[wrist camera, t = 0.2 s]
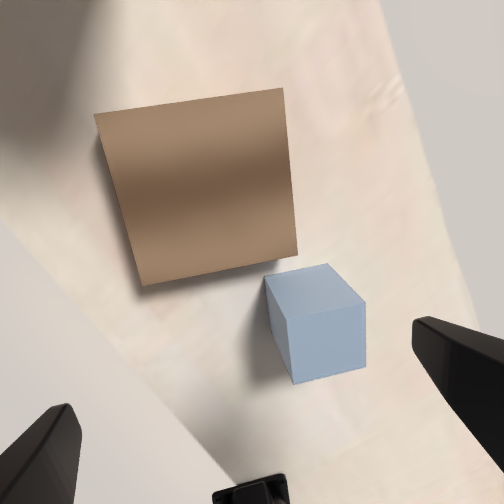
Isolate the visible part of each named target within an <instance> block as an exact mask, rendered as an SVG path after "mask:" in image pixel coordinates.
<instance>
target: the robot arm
mask: <svg viewBox="0 0 504 504" xmlns="http://www.w3.org/2000/svg"><path fill="white" fill-rule="evenodd" d="M412 348H413V351H414V353H415V355H416V356H417V358H418V359H419V361H420V362H421V364H422V365H423V367H424V368H425V370H426V371H427V373H428V375H429V376H430V378H431V379H432V381H433V382H434V384H435V385H436V387H437V388H438V390H439V391H440V393H441V394H442V396H443V397H444V399H445V400H446V402H447V403H448V404H449V405H450V407H451V408H452V409H453V411H454V412H455V413H456V414H457V416H458V417H459V418H460V419H461V420H462V422H463V423H464V424H465V425H466V427H467V428H468V429H469V430H470V432H471V433H472V434H473V435H474V437H475V438H476V439H477V440H478V442H479V443H480V444H481V445H482V447H483V448H484V449H485V450H486V452H487V453H488V454H489V455H490V457H491V458H492V459H493V460H494V462H495V463H496V464H497V465H498V466H499V468H500V469H501V470H502V471H503V473H504V340H503V339H500V338H496V337H493V336H490V335H487V334H484V333H481V332H478V331H474V330H471V329H468V328H465V327H462V326H459V325H456V324H452V323H449V322H446V321H443V320H440V319H437V318H434V317H430V316H426V317H421V318H417V319H415V320H414V321H413V324H412ZM81 441H82V430H81V426H80V424H79V422H78V419H77V417H76V415H75V413H74V411H73V408H72V406H71V405H70V404H68V403H64V404H61V405H56V406H52V407H50V408H49V409H48V410H47V411H46V412H45V413H44V414H43V415H42V416H40V417H39V418H38V419H37V420H36V421H35V422H34V423H33V424H32V425H31V426H30V427H29V428H28V429H27V430H26V431H25V432H24V433H23V434H22V435H21V436H20V437H19V438H18V439H17V440H16V441H15V442H13V444H11V445H10V447H8V448H7V449H6V450H5V451H4V452H3V453H2V454H1V455H0V504H73V502H74V496H75V489H76V480H77V473H78V465H79V457H80V448H81ZM212 502H213V504H290V500H289V493H288V486H287V480H286V476H285V475H284V474H278V475H274V476H271V477H267V478H263V479H260V480H256V481H252V482H249V483H245V484H242V485H238V486H234V487H231V488H227V489H224V490H220V491H216V492H214V493H213V495H212Z"/></svg>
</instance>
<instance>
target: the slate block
mask: <svg viewBox="0 0 504 504" xmlns="http://www.w3.org/2000/svg"><path fill="white" fill-rule="evenodd" d="M264 280H265V287H266V295H267V302H268V310H269V317H270V325H271V332H272V334H273V337H274V339H275V342H276V344H277V346H278V349H279V351H280V354H281V356H282V358H283V361H284V363H285V366H286V368H287V370H288V373H289V375H290V378H291V380H292V382H293V385H295V384H299V383H304V382H308V381H312V380H316V379H320V378H324V377H328V376H332V375H336V374H340V373H344V372H348V371H352V370H356V369H360V368H364V367H366V305H365V301H364V300H363V299H362V298H361V297H360V296H359V295H358V294H357V293H356V292H355V291H354V290H353V289H352V288H351V287H350V286H349V285H348V284H347V283H346V282H345V281H344V280H343V279H342V277H341V276H340V275H339V274H338V273H337V272H336V271H335V270H334V269H333V268H332V267H331V266H330V265H329V264H328V263H326V264H322V265H317V266H312V267H307V268H302V269H297V270H292V271H288V272H283V273H278V274H273V275H268V276H264Z"/></svg>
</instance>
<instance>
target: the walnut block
mask: <svg viewBox="0 0 504 504" xmlns="http://www.w3.org/2000/svg"><path fill="white" fill-rule="evenodd" d="M94 117H95V121H96V124H97V128H98V131H99V135H100V138H101V142H102V145H103V149H104V152H105V156H106V159H107V163H108V167H109V170H110V174H111V177H112V181H113V184H114V188H115V191H116V195H117V198H118V202H119V205H120V209H121V212H122V216H123V219H124V223H125V226H126V230H127V233H128V237H129V240H130V244H131V247H132V251H133V254H134V258H135V261H136V265H137V268H138V272H139V275H140V279H141V282H142V286H146V285H151V284H156V283H161V282H166V281H171V280H176V279H181V278H186V277H191V276H196V275H201V274H206V273H211V272H216V271H221V270H226V269H231V268H236V267H241V266H247V265H252V264H257V263H262V262H267V261H272V260H277V259H282V258H287V257H292V256H297V255H298V250H297V239H296V228H295V217H294V205H293V194H292V183H291V172H290V161H289V149H288V138H287V127H286V116H285V105H284V93H283V88H277V89H269V90H262V91H255V92H248V93H241V94H234V95H227V96H220V97H213V98H205V99H198V100H191V101H184V102H177V103H170V104H163V105H156V106H148V107H141V108H134V109H127V110H120V111H113V112H106V113H99V114H94Z"/></svg>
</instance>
